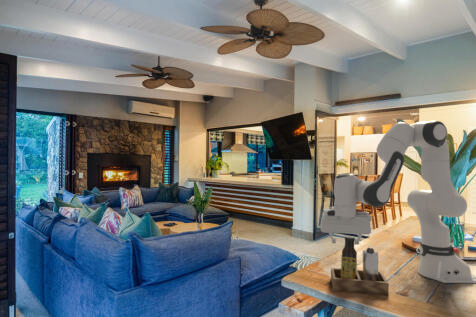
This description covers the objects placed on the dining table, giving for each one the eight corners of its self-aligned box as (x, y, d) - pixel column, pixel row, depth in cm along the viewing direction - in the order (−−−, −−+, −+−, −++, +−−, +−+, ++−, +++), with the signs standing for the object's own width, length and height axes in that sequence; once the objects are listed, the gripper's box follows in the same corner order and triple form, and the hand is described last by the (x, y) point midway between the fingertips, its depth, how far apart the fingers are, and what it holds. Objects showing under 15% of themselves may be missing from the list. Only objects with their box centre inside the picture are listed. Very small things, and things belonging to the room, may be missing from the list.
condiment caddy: (381, 283, 129) (381, 271, 129) (388, 295, 117) (388, 283, 117) (331, 278, 134) (330, 267, 134) (333, 290, 122) (333, 278, 122)
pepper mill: (376, 283, 126) (376, 245, 126) (380, 289, 121) (379, 250, 121) (361, 281, 128) (361, 244, 128) (364, 287, 122) (363, 249, 122)
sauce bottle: (340, 284, 125) (340, 237, 125) (341, 278, 131) (340, 234, 131) (357, 287, 123) (356, 239, 123) (357, 281, 129) (356, 235, 129)
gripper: (369, 210, 127) (369, 242, 127) (320, 209, 132) (320, 240, 132) (372, 213, 121) (372, 247, 121) (320, 211, 126) (321, 244, 126)
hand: (345, 243), depth 126 cm, fingers open, 8 cm apart
